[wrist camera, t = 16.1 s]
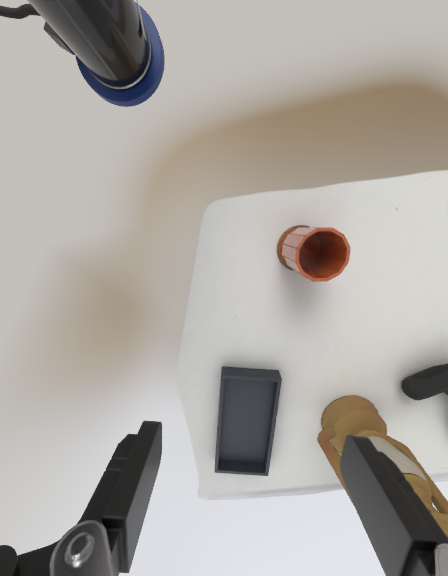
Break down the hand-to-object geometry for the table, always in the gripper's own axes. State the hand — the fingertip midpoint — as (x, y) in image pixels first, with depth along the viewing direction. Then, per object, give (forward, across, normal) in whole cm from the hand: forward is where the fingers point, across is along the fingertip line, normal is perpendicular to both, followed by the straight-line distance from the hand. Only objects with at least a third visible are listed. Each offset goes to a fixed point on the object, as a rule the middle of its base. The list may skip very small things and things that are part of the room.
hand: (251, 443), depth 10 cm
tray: (+30, -4, +26) cm, 40 cm away
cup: (+30, -10, -6) cm, 32 cm away
